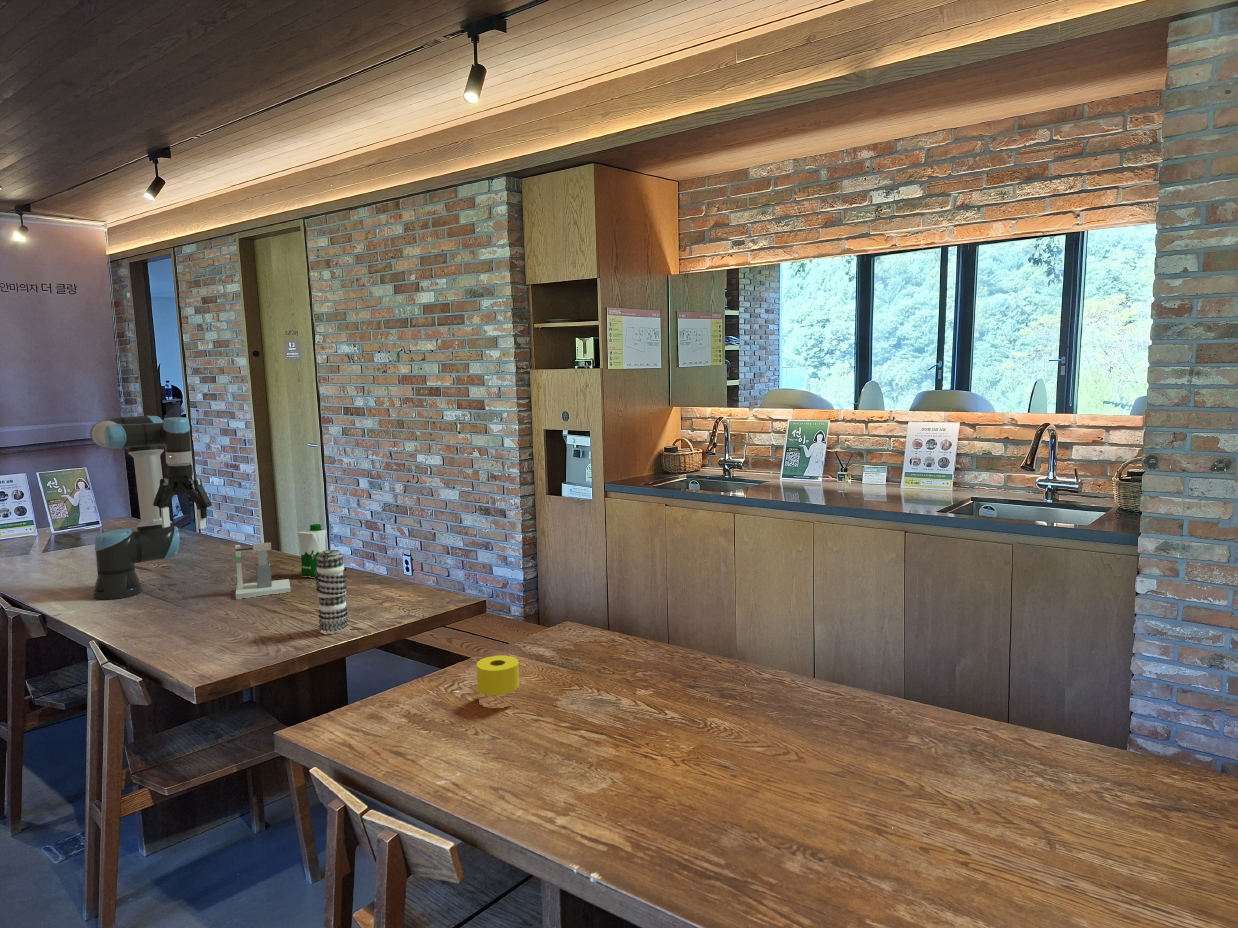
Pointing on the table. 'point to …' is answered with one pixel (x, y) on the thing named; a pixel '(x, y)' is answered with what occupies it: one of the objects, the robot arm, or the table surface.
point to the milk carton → (311, 548)
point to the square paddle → (260, 552)
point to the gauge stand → (258, 581)
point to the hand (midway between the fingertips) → (184, 527)
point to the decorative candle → (331, 590)
